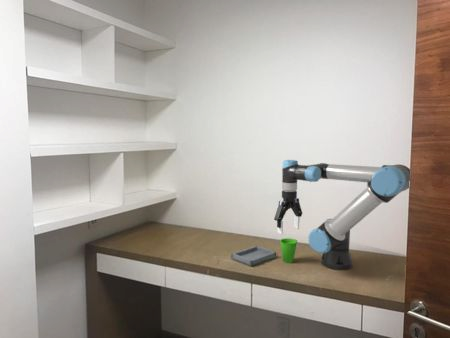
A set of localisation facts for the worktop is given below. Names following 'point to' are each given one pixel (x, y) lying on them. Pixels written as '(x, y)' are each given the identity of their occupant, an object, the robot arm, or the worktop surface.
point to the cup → (288, 249)
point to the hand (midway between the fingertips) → (288, 231)
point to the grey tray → (253, 256)
